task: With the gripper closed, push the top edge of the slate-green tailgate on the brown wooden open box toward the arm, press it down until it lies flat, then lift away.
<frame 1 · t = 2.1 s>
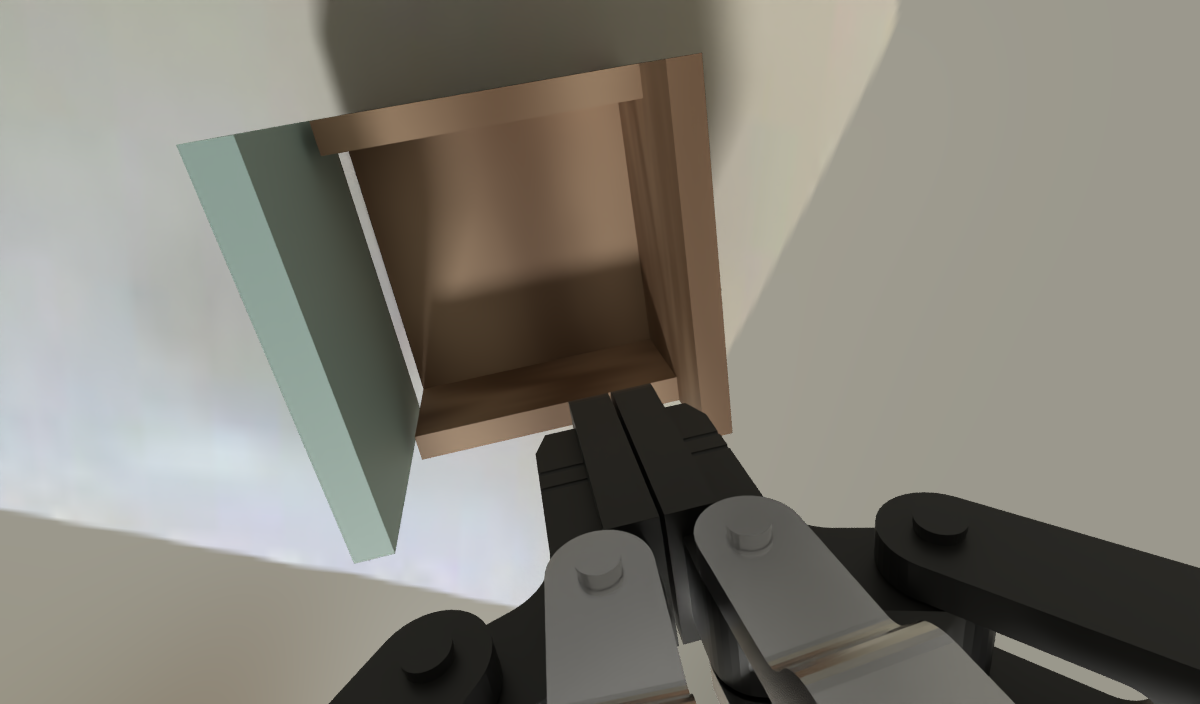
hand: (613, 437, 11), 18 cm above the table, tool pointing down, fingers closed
brown wooden open box: (510, 236, 27), on the table
tailgate: (340, 319, 20), point 7 cm above the table, hinge at 0.0°
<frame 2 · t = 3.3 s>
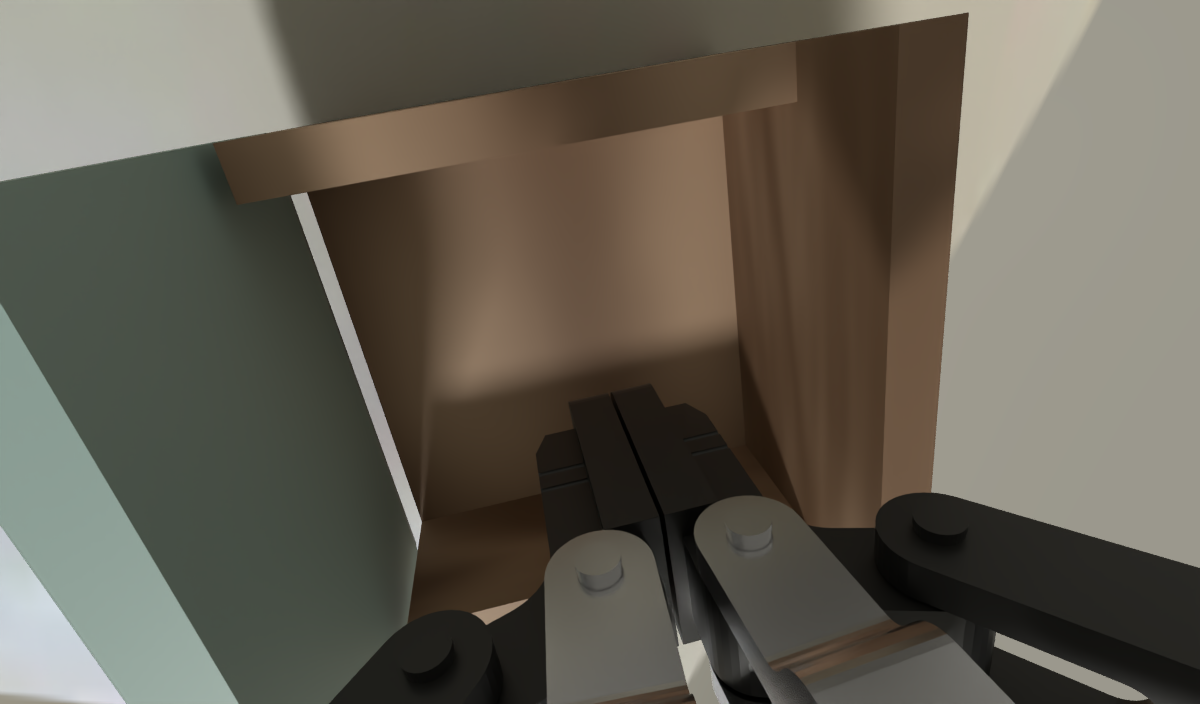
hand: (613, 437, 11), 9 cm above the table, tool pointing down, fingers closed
brown wooden open box: (546, 297, 19), on the table
tailgate: (282, 469, 12), point 7 cm above the table, hinge at 0.0°
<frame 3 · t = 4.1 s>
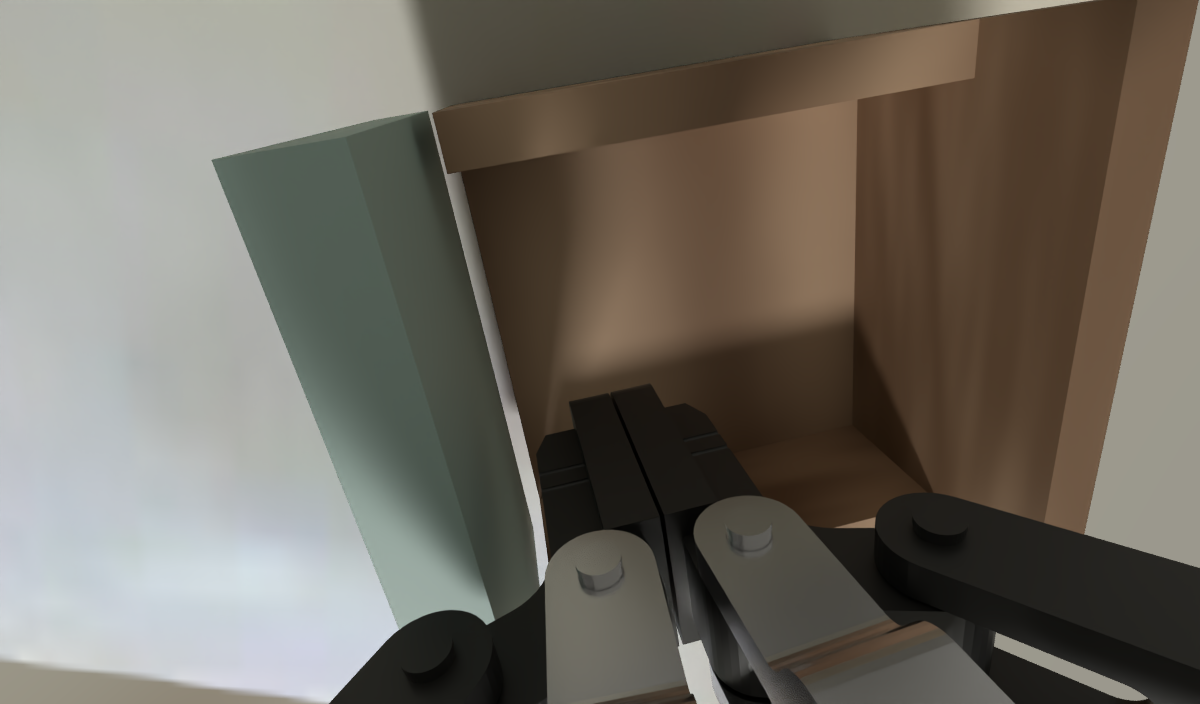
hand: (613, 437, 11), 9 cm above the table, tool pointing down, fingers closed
brown wooden open box: (656, 279, 20), on the table
tailgate: (460, 436, 12), point 7 cm above the table, hinge at 0.2°, touching gripper
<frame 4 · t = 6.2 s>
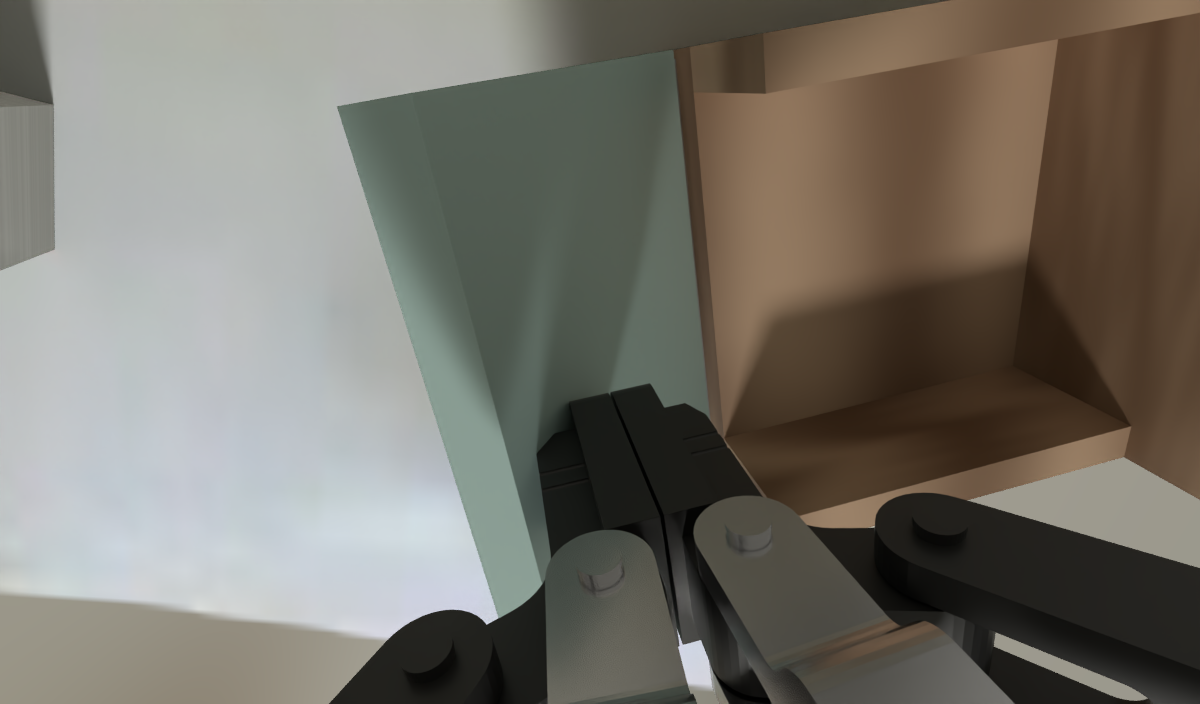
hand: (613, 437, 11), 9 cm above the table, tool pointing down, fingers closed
brown wooden open box: (822, 228, 20), on the table
tailgate: (613, 364, 14), point 6 cm above the table, hinge at 36.7°, touching gripper
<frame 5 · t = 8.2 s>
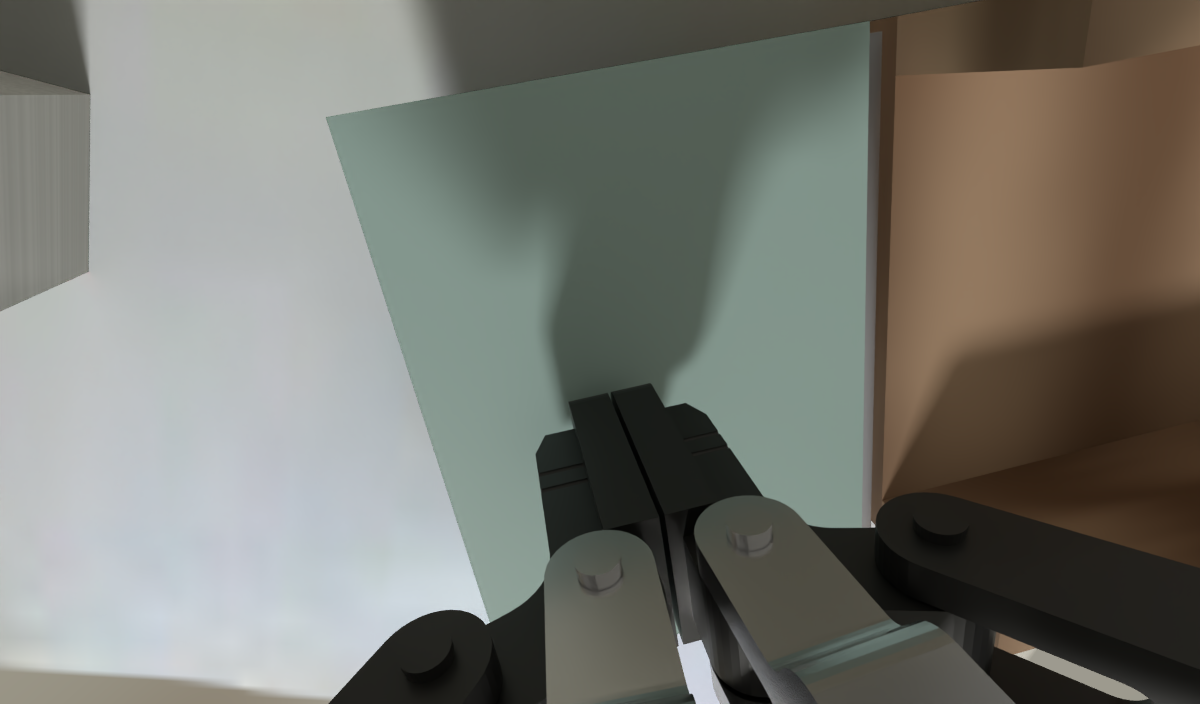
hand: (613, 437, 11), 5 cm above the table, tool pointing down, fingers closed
brown wooden open box: (993, 244, 17), on the table
tailgate: (673, 384, 13), point 4 cm above the table, hinge at 80.4°
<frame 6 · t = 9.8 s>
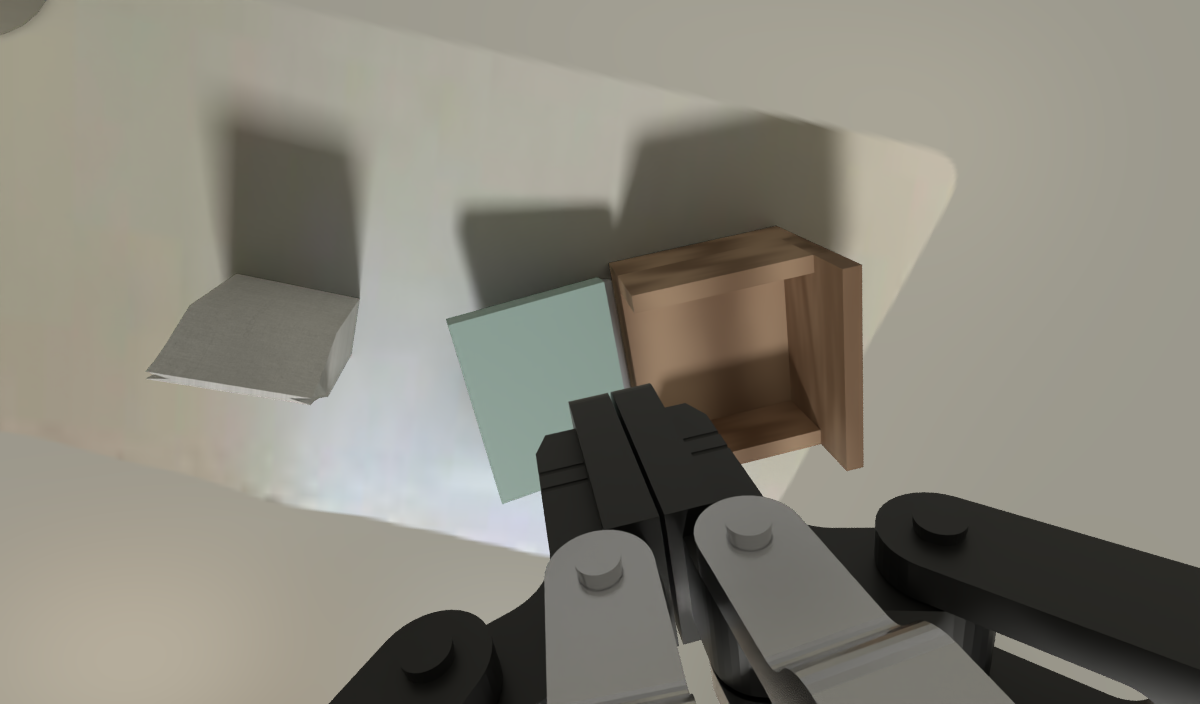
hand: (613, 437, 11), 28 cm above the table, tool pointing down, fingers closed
brown wooden open box: (696, 332, 41), on the table
grey wedge block: (297, 314, 37), on the table
tailgate: (553, 391, 37), point 4 cm above the table, hinge at 80.4°
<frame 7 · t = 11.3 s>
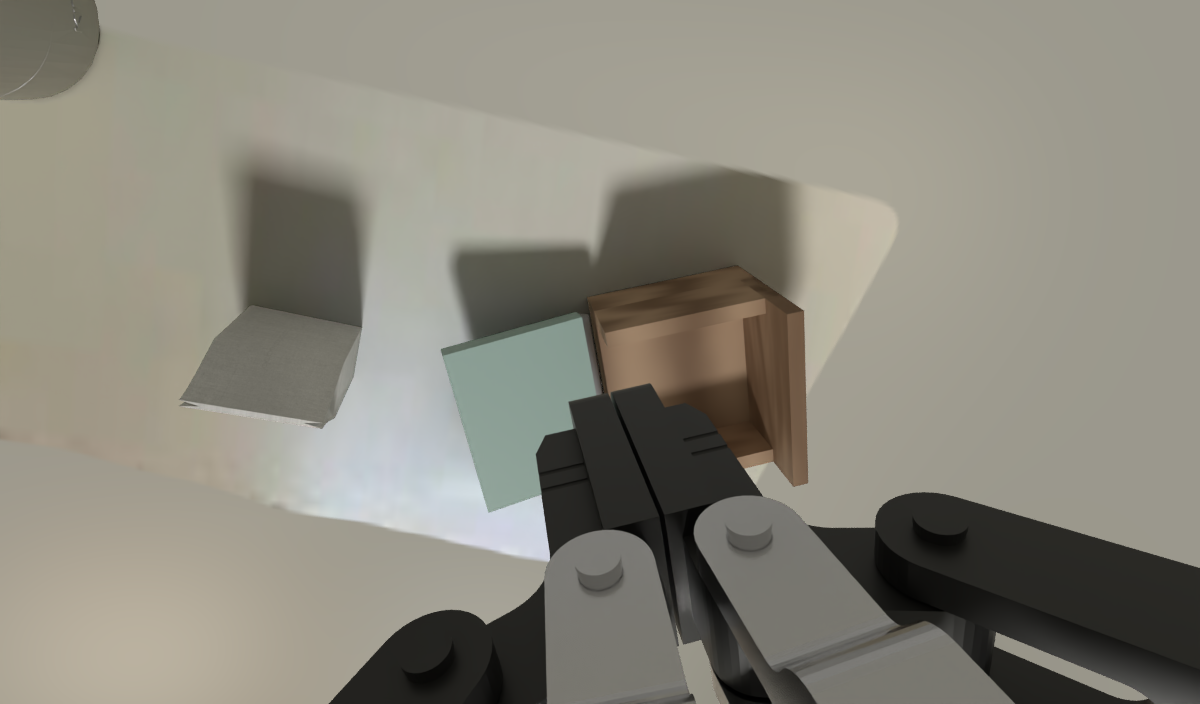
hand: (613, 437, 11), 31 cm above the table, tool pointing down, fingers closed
brown wooden open box: (666, 358, 46), on the table
grey wedge block: (305, 340, 41), on the table
tailgate: (535, 412, 41), point 4 cm above the table, hinge at 80.4°
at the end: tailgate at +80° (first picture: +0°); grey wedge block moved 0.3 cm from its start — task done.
